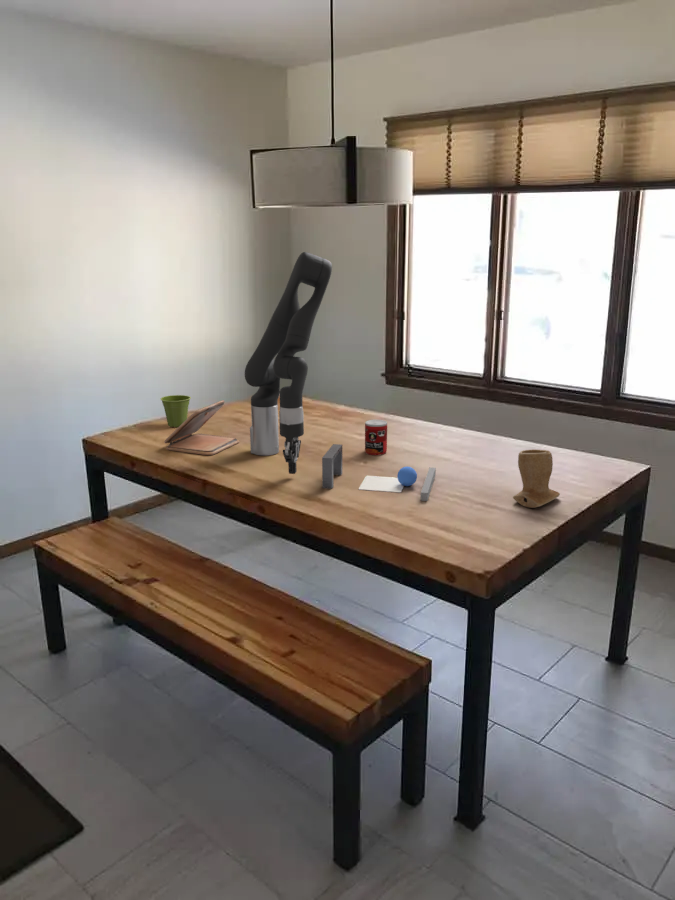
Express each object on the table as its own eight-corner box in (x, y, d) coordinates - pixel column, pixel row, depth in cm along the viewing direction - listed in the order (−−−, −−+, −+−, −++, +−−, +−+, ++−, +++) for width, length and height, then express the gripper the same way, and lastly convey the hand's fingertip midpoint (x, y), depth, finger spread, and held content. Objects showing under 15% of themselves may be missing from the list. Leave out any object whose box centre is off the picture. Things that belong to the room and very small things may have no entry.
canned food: (361, 454, 265) (361, 423, 261) (369, 448, 272) (369, 418, 268) (382, 456, 262) (383, 425, 259) (389, 450, 269) (390, 420, 266)
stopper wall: (420, 500, 220) (420, 492, 220) (429, 474, 243) (429, 467, 242) (427, 501, 220) (427, 492, 219) (435, 475, 242) (435, 467, 242)
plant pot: (198, 424, 304) (197, 397, 300) (174, 430, 295) (172, 402, 292) (180, 420, 311) (178, 393, 308) (156, 425, 302) (154, 398, 299)
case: (195, 436, 289) (192, 395, 284) (242, 442, 280) (240, 400, 275) (161, 450, 271) (158, 407, 266) (211, 458, 262) (208, 413, 258)
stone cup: (528, 489, 229) (531, 441, 225) (564, 498, 222) (568, 449, 217) (501, 502, 219) (504, 452, 214) (538, 512, 211) (542, 461, 207)
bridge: (322, 488, 231) (322, 457, 228) (333, 472, 245) (333, 444, 242) (331, 488, 230) (331, 458, 227) (342, 473, 244) (342, 444, 241)
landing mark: (358, 489, 229) (358, 488, 229) (366, 476, 242) (366, 475, 242) (401, 492, 227) (401, 492, 227) (406, 478, 239) (406, 478, 239)
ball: (394, 485, 231) (399, 468, 228) (396, 478, 236) (401, 461, 234) (413, 491, 230) (418, 473, 228) (414, 484, 236) (420, 467, 233)
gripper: (285, 414, 242) (287, 466, 247) (273, 424, 229) (275, 479, 234) (308, 415, 240) (309, 467, 245) (297, 426, 228) (298, 480, 233)
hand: (292, 473), depth 240 cm, fingers closed
